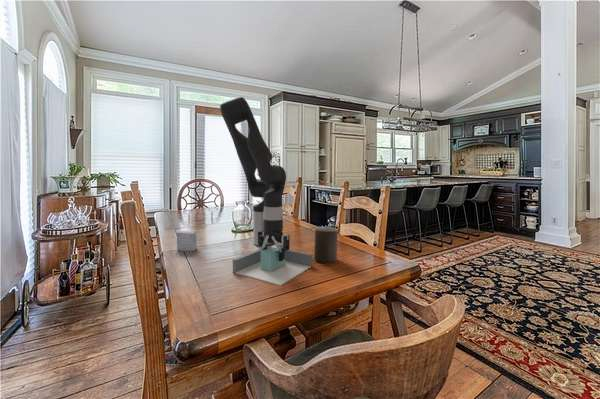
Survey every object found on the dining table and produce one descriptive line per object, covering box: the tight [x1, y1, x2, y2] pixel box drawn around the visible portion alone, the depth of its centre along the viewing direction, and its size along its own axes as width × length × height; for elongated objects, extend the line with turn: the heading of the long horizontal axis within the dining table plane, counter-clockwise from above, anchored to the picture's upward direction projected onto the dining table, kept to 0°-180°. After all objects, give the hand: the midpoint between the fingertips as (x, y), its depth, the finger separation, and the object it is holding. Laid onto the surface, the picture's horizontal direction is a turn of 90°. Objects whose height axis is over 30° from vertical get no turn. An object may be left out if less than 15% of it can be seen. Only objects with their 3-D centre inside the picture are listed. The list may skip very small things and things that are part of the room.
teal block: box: [261, 244, 285, 271], centre depth 110 cm, size 5×9×7 cm, turn 148°
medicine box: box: [175, 230, 198, 252], centre depth 133 cm, size 8×4×9 cm, turn 84°
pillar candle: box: [313, 226, 339, 264], centre depth 120 cm, size 10×10×15 cm
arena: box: [232, 245, 314, 287], centre depth 109 cm, size 22×22×5 cm
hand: (273, 259), depth 110 cm, fingers open, 7 cm apart
